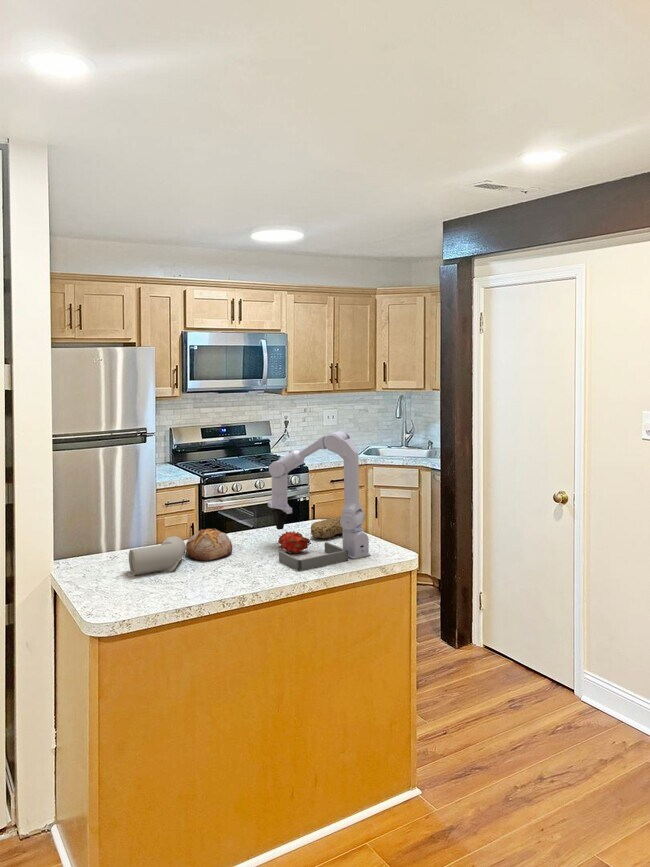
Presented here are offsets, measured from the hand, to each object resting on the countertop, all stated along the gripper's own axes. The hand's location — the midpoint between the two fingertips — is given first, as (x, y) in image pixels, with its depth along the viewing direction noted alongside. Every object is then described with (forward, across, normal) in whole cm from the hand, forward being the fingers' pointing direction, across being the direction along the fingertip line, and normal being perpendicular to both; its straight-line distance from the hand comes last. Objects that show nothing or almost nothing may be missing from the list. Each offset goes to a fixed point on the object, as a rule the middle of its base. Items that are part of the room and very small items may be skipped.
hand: (280, 528), depth 260 cm
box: (+6, +23, 0) cm, 23 cm away
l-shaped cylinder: (+7, -1, -47) cm, 47 cm away
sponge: (+7, -1, +24) cm, 25 cm away
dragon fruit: (+7, +10, 0) cm, 12 cm away
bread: (+7, -6, -26) cm, 27 cm away
